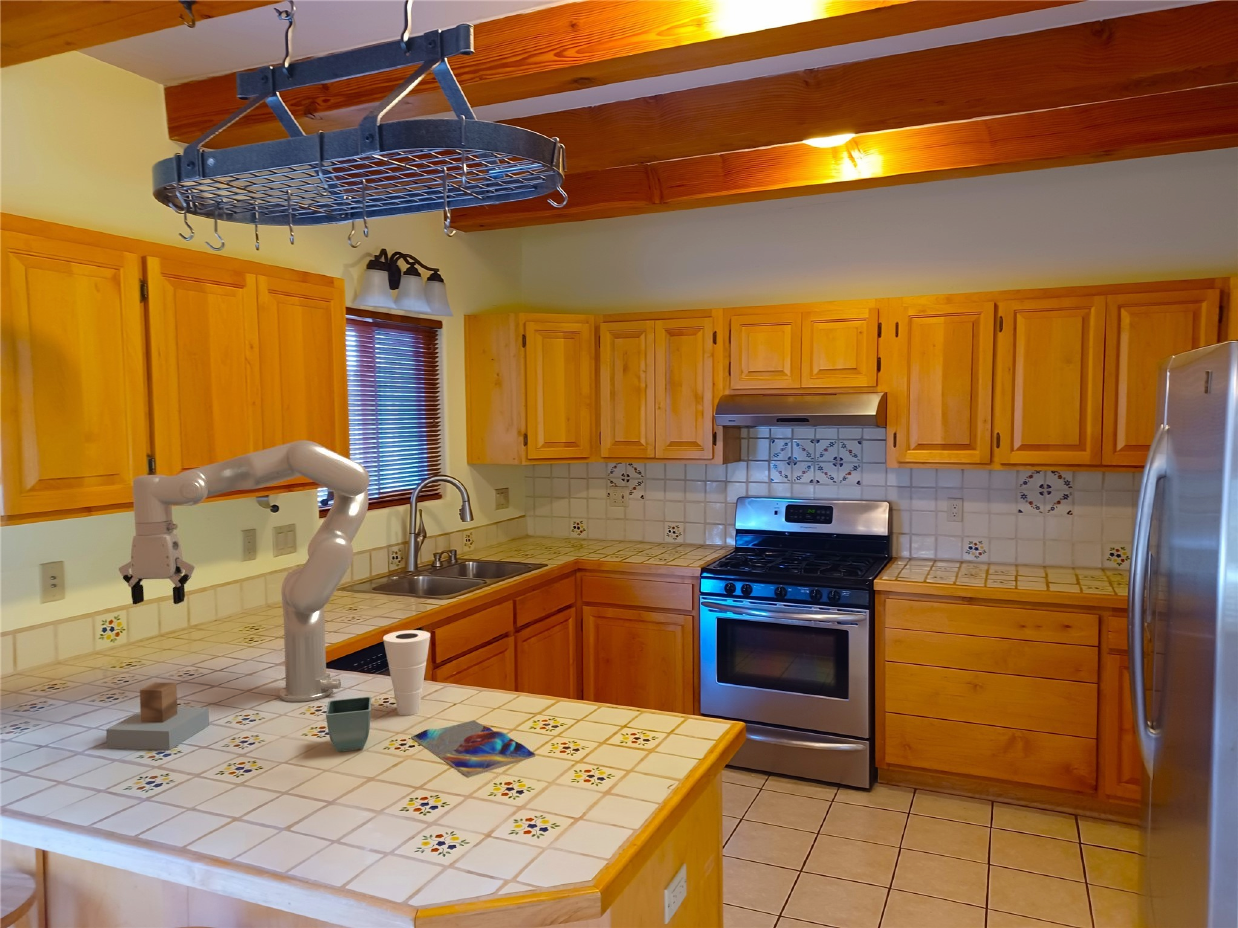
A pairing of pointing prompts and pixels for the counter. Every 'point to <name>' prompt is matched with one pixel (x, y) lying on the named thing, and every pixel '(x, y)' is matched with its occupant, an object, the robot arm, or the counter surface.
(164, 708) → the walnut block
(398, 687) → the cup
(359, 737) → the flower pot
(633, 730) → the counter surface
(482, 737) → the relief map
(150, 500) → the robot arm
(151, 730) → the pedestal
